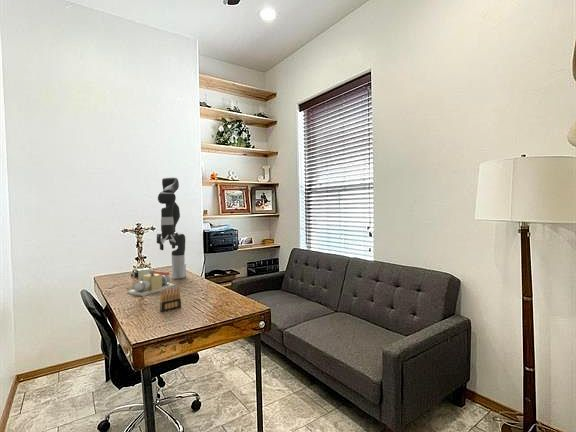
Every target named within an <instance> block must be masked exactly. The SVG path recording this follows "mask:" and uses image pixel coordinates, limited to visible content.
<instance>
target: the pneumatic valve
mask: <svg viewBox="0 0 576 432" xmlns="http://www.w3.org/2000/svg"><path fill="white" fill-rule="evenodd" d="M150 270H153V269H152V268H150V267H146V268H145V267H144V266H143V267H142V268H135V269H134V271H132V277H133V278H134V279H135V280H139V281H143V276H144V275H148V274H151V273H150ZM139 281H138V282H139Z"/></svg>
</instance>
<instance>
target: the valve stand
mask: <svg viewBox="0 0 576 432" xmlns="http://www.w3.org/2000/svg"><path fill="white" fill-rule="evenodd" d="M170 281H171V277H170V276H169V275H161V274H154V273H151V274H148V275H144V276H143V281H137V282H135V283H133V289H132V288H131V289H129V290H127V292H126V293H127V294H129V295H135V296H140V297H145V296H147V295H150V294H151V295H152V294H156V293H157V292H161V290H162V289H163V291H164V290H165V288H166V290H168V287H169V289H171V287H173V288H174V287H175V286H176V287H177V284H176V283H171V282H170Z"/></svg>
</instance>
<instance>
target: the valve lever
mask: <svg viewBox="0 0 576 432" xmlns="http://www.w3.org/2000/svg"><path fill="white" fill-rule="evenodd" d="M150 273H154V274H161V275H162V276H164V275H165V276H167V275H168V276H169V275H170V271H167V270H165V271H164V270H163V271H162V270H156V269H152V270H150Z"/></svg>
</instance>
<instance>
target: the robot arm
mask: <svg viewBox="0 0 576 432" xmlns="http://www.w3.org/2000/svg"><path fill="white" fill-rule="evenodd" d="M161 181H162V182H161V185H162V190H161V192H159V194H158V196H157V201H158V203H159V204H161V205H162V204H163V205H165V207H162V208H161V210H160V212H161V213H160V215H161V217H160V218H161V219H160V231H161V233H156V244H157V245H159V250H160V251H164V247H165V245H164V243H165V242H166V241H168V242H169V245H171V249H174V250H172V251H171V278H172V279H174V280H175V279H177V280H178V279H184V278H185V277H187V275H186V274H187V265H186V263H185V262H186V261H185V259H186V257H185V252H186V236H185V234H184V233H179V232H176V226H177V224H178V222H179V221H180V218H181V213H180V207H179V205H178V203H176V200H177V199H176V197H177V196H176V194H175V193H176V192H177V190H178V189H179V187H180V184H179V179H178V178H177V177H173V176H172V177H163V178H162V180H161ZM176 247H177V248H176ZM175 248H176V249H175Z"/></svg>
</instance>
